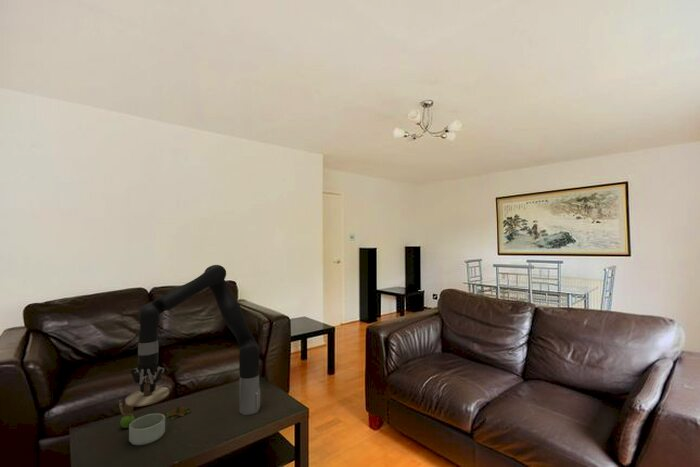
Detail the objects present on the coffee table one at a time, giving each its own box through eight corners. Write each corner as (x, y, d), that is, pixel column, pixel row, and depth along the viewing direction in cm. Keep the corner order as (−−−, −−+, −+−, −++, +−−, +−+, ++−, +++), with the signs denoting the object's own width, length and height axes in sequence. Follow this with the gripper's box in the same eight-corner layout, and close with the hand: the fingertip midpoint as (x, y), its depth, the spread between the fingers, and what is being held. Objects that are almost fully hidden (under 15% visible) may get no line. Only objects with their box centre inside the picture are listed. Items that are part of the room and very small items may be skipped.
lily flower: (170, 423, 151) (170, 413, 151) (159, 415, 158) (159, 405, 159) (196, 412, 160) (196, 403, 160) (184, 405, 168) (184, 396, 168)
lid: (176, 388, 149) (176, 375, 149) (156, 405, 133) (156, 391, 133) (140, 389, 148) (140, 376, 148) (116, 406, 132) (116, 392, 133)
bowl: (170, 427, 147) (170, 413, 147) (154, 445, 134) (154, 429, 134) (141, 428, 146) (141, 413, 147) (121, 446, 133) (122, 430, 134)
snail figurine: (122, 424, 150) (122, 397, 150) (137, 423, 151) (137, 397, 151) (114, 431, 145) (115, 403, 145) (130, 430, 145) (130, 402, 145)
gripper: (169, 348, 145) (169, 387, 145) (137, 349, 145) (136, 388, 144) (160, 354, 138) (159, 395, 137) (126, 354, 137) (125, 396, 137)
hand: (147, 391), depth 141 cm, fingers closed on lid, 3 cm apart
